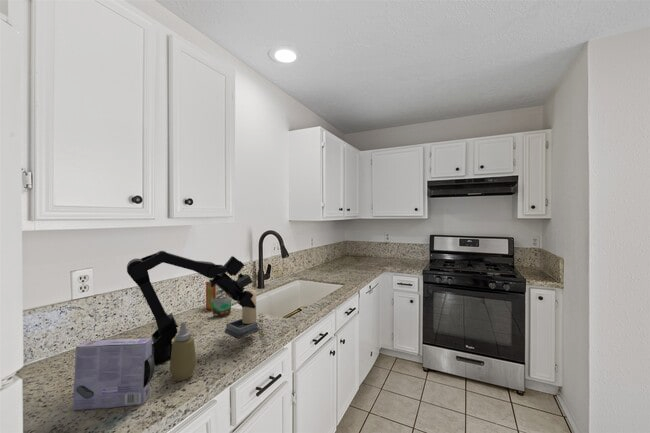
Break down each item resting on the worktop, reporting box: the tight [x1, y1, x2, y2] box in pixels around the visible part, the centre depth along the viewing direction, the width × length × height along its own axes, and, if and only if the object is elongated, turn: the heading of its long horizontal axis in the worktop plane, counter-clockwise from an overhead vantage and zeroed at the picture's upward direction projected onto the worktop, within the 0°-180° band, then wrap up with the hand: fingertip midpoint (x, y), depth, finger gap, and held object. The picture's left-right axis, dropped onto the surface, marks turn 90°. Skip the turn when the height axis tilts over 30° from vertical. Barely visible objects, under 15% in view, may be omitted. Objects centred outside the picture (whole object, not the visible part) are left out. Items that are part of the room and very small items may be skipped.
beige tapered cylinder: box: [241, 289, 257, 324], centre depth 124 cm, size 6×6×13 cm
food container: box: [211, 295, 233, 318], centre depth 149 cm, size 12×6×10 cm, turn 143°
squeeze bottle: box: [169, 321, 197, 381], centre depth 93 cm, size 8×8×18 cm
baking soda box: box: [205, 280, 228, 312], centre depth 161 cm, size 10×6×16 cm
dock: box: [224, 318, 260, 339], centre depth 130 cm, size 11×11×4 cm
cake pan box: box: [72, 337, 156, 412], centre depth 80 cm, size 19×5×18 cm, turn 99°
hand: (252, 305), depth 124 cm, fingers closed on beige tapered cylinder, 6 cm apart
